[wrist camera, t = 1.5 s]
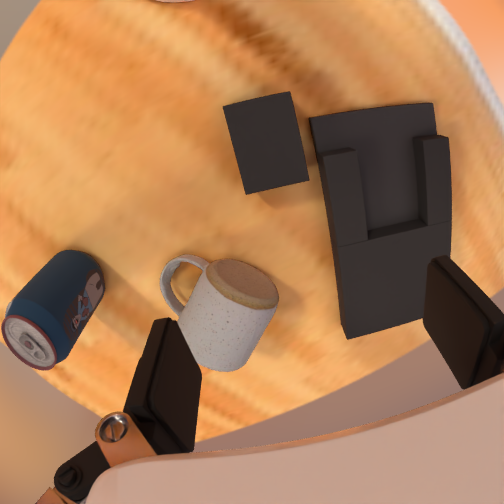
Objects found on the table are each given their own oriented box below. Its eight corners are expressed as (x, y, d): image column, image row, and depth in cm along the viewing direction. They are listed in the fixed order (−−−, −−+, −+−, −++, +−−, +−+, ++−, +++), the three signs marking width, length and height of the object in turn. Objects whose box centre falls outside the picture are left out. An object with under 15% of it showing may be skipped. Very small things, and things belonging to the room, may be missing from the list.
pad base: (308, 117, 25) (315, 119, 23) (428, 102, 24) (444, 103, 22) (340, 323, 34) (347, 340, 32) (434, 297, 33) (444, 310, 31)
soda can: (45, 265, 31) (-13, 330, 20) (78, 232, 29) (13, 296, 18) (84, 309, 33) (40, 383, 22) (121, 282, 32) (76, 361, 21)
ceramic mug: (281, 271, 31) (289, 319, 24) (247, 331, 34) (246, 384, 28) (178, 230, 29) (156, 269, 22) (154, 297, 33) (133, 345, 26)
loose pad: (225, 106, 25) (222, 106, 21) (284, 93, 24) (290, 91, 21) (245, 184, 28) (245, 194, 24) (302, 171, 27) (309, 180, 24)
